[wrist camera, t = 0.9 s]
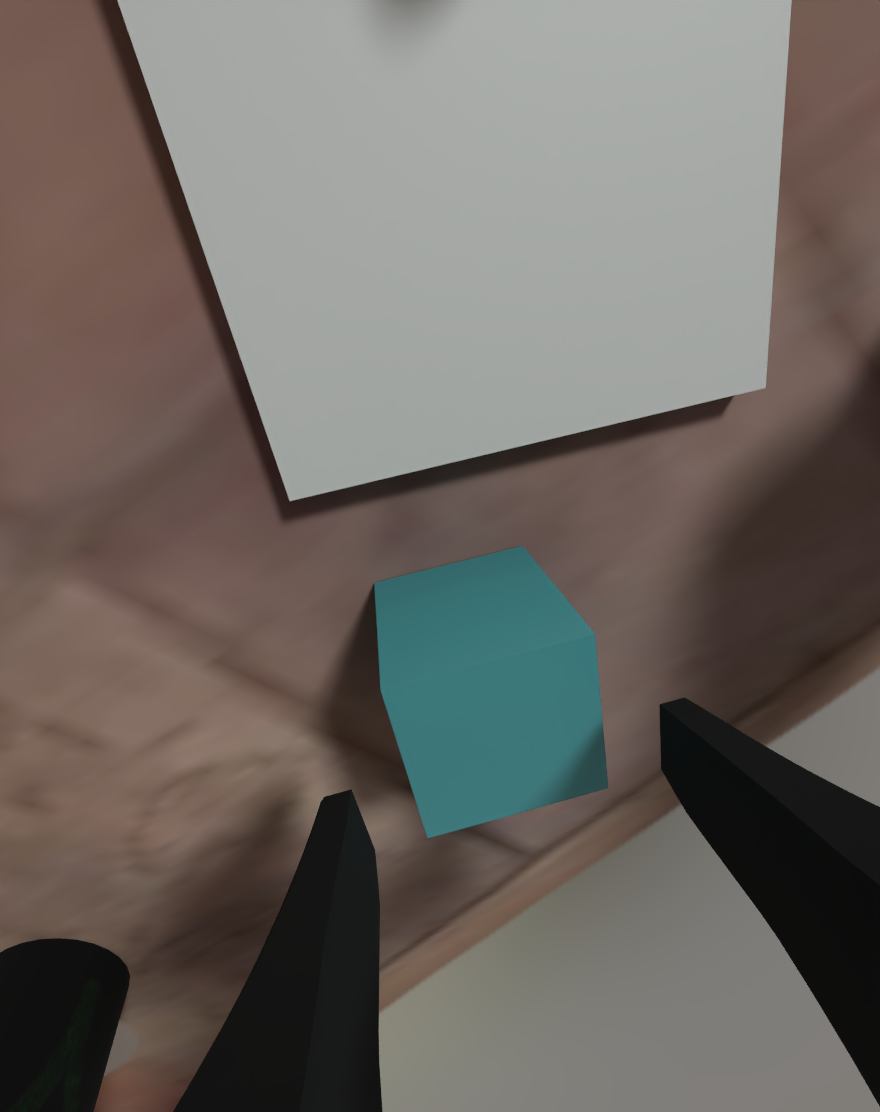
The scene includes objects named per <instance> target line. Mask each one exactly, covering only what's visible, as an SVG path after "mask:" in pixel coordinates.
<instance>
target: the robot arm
mask: <svg viewBox="0 0 880 1112" xmlns="http://www.w3.org/2000/svg"><path fill="white" fill-rule="evenodd" d="M660 737H661V769H662V771H663V773H664V775H665V776H666V778H667V780H668V782H669V784H670V785H671V787H672V789H673V791H674V792H675V794H676V796H677V797H678V799H679V801H680V802H681V804H682V806H683V807H684V809H685V811H686V812H687V814H688V815H689V817H690V818H691V819H692V820H693V822H694V824H695V825H696V826H697V828H698V829H699V830H700V832H701V833H702V835H703V836H704V837H705V839H706V840H707V841H708V843H709V844H710V845H711V847H712V848H713V850H714V851H715V852H716V854H717V855H718V856H719V857H720V859H721V860H722V862H723V863H724V864H725V866H726V867H727V868H728V870H729V871H730V872H731V874H732V875H733V876H734V878H735V879H736V881H737V882H738V883H739V884H740V886H741V887H742V889H743V890H744V891H745V893H746V894H747V895H748V897H749V898H750V899H751V901H752V902H753V903H754V905H755V906H756V907H757V909H758V910H759V911H760V913H761V914H762V915H763V917H764V919H765V920H766V921H767V923H768V924H769V926H770V927H771V929H772V930H773V932H774V933H775V934H776V936H777V937H778V939H779V940H780V942H781V944H782V945H783V947H784V948H785V950H786V952H787V953H788V955H789V956H790V958H791V960H792V961H793V963H794V964H795V966H796V967H797V969H798V971H799V972H800V974H801V975H802V977H803V978H804V980H805V982H806V983H807V985H808V987H809V988H810V989H811V991H812V993H813V995H814V996H815V998H816V1000H817V1001H818V1003H819V1005H820V1006H821V1008H822V1009H823V1011H824V1013H825V1014H826V1016H827V1018H828V1019H829V1021H830V1023H831V1024H832V1026H833V1028H834V1029H835V1031H836V1033H837V1034H838V1036H839V1038H840V1039H841V1041H842V1043H843V1044H844V1046H845V1048H846V1049H847V1051H848V1053H849V1054H850V1056H851V1058H852V1059H853V1061H854V1063H855V1064H856V1066H857V1068H858V1070H859V1071H860V1073H861V1075H862V1076H863V1078H864V1080H865V1082H866V1083H867V1085H868V1087H869V1089H870V1090H871V1092H872V1094H873V1096H874V1097H875V1099H876V1101H877V1103H878V1104H879V1106H880V807H879V806H876V805H874V804H872V803H870V802H868V801H866V800H864V799H862V798H859V797H858V796H856V795H854V794H852V793H850V792H848V791H846V790H844V789H842V788H840V787H838V786H836V785H834V784H832V783H831V782H828V781H827V780H825V779H823V778H821V777H819V776H817V775H815V774H813V773H812V772H810V771H808V770H806V769H804V768H803V767H801V766H799V765H797V764H795V763H793V762H792V761H790V760H788V759H786V758H785V757H783V756H781V755H779V754H778V753H776V752H774V751H772V750H771V749H769V748H767V747H766V746H764V745H762V744H760V743H759V742H757V741H755V740H754V739H752V738H750V737H749V736H747V735H745V734H744V733H742V732H740V731H739V730H737V729H735V728H734V727H732V726H731V725H729V724H727V723H726V722H724V721H722V720H721V719H719V718H717V717H716V716H714V715H713V714H711V713H709V712H708V711H706V710H704V709H703V708H701V707H700V706H698V705H696V704H695V703H693V702H691V701H690V700H688V699H686V698H681V699H678V700H674V701H670V702H667V703H663V704H660ZM379 930H380V901H379V888H378V877H377V866H376V856H375V849H374V846H373V844H372V841H371V839H370V836H369V834H368V831H367V828H366V826H365V823H364V821H363V818H362V816H361V813H360V810H359V808H358V805H357V803H356V800H355V797H354V795H353V792H352V790H348V791H344V792H341V793H337V794H333V795H330V796H326V797H324V798H323V800H322V801H321V803H320V806H319V809H318V812H317V815H316V818H315V821H314V824H313V827H312V830H311V833H310V836H309V838H308V841H307V844H306V846H305V849H304V852H303V854H302V857H301V860H300V862H299V865H298V867H297V870H296V872H295V875H294V877H293V880H292V882H291V885H290V887H289V889H288V892H287V894H286V897H285V899H284V902H283V904H282V906H281V909H280V911H279V913H278V916H277V918H276V920H275V922H274V924H273V926H272V929H271V931H270V933H269V935H268V937H267V940H266V942H265V944H264V946H263V948H262V950H261V953H260V955H259V957H258V959H257V961H256V963H255V965H254V967H253V969H252V971H251V973H250V975H249V977H248V979H247V981H246V983H245V985H244V987H243V989H242V991H241V993H240V995H239V997H238V999H237V1001H236V1003H235V1004H234V1006H233V1008H232V1010H231V1012H230V1014H229V1016H228V1018H227V1020H226V1021H225V1023H224V1025H223V1027H222V1029H221V1031H220V1032H219V1034H218V1036H217V1038H216V1039H215V1041H214V1043H213V1045H212V1046H211V1048H210V1050H209V1052H208V1053H207V1055H206V1057H205V1059H204V1060H203V1062H202V1064H201V1066H200V1067H199V1069H198V1071H197V1073H196V1074H195V1076H194V1078H193V1079H192V1081H191V1083H190V1084H189V1086H188V1088H187V1090H186V1091H185V1093H184V1095H183V1096H182V1098H181V1100H180V1101H179V1103H178V1104H177V1106H176V1108H175V1109H174V1111H173V1112H382V1099H381V1084H380V1068H379V1036H378V1035H379V1034H378V1028H379V1027H378V1026H379V1025H378V1023H379V1020H378V1019H379Z"/></svg>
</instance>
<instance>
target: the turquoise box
mask: <svg viewBox="0 0 880 1112" xmlns="http://www.w3.org/2000/svg"><path fill="white" fill-rule="evenodd" d="M374 585H375V603H376V620H377V637H378V655H379V672H380V689H381V693H382V696H383V699H384V703H385V706H386V709H387V712H388V715H389V718H390V722H391V725H392V728H393V731H394V734H395V737H396V740H397V744H398V747H399V750H400V753H401V756H402V759H403V763H404V766H405V769H406V772H407V775H408V778H409V781H410V785H411V788H412V791H413V794H414V797H415V800H416V804H417V807H418V810H419V813H420V816H421V819H422V822H423V826H424V829H425V832H426V835H427V838H432V837H435V836H439V835H442V834H446V833H449V832H453V831H457V830H460V829H464V828H467V827H471V826H474V825H478V824H482V823H485V822H489V821H492V820H496V819H499V818H503V817H506V816H510V815H514V814H517V813H521V812H524V811H528V810H531V809H535V808H539V807H542V806H546V805H549V804H553V803H556V802H560V801H564V800H567V799H571V798H574V797H578V796H581V795H585V794H589V793H592V792H596V791H599V790H603V789H606V788H608V780H607V768H606V757H605V745H604V733H603V722H602V710H601V699H600V687H599V675H598V664H597V652H596V641H595V633H594V632H593V631H592V630H591V629H590V627H589V626H588V625H587V624H586V622H585V621H584V620H583V619H582V618H581V616H580V615H579V614H578V613H577V612H576V610H575V609H574V608H573V607H572V605H571V604H570V603H569V602H568V601H567V599H566V598H565V597H564V596H563V594H562V593H561V592H560V591H559V590H558V588H557V587H556V586H555V585H554V583H553V582H552V581H551V580H550V579H549V577H548V576H547V575H546V574H545V573H544V571H543V570H542V569H541V568H540V566H539V565H538V564H537V563H536V562H535V560H534V559H533V558H532V557H531V555H530V554H529V553H528V552H527V551H526V549H525V548H524V547H523V546H520V547H516V548H512V549H508V550H504V551H500V552H496V553H492V554H488V555H484V556H480V557H476V558H472V559H468V560H464V561H460V562H456V563H452V564H448V565H444V566H440V567H436V568H432V569H428V570H424V571H420V572H416V573H412V574H408V575H404V576H400V577H396V578H392V579H388V580H384V581H380V582H376V583H374Z"/></svg>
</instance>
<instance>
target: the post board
mask: <svg viewBox="0 0 880 1112" xmlns="http://www.w3.org/2000/svg"><path fill="white" fill-rule="evenodd" d="M117 1H118V4H119V7H120V9H121V12H122V15H123V18H124V21H125V24H126V27H127V30H128V33H129V36H130V38H131V41H132V44H133V47H134V50H135V53H136V56H137V59H138V62H139V65H140V68H141V70H142V73H143V76H144V79H145V82H146V85H147V88H148V91H149V94H150V97H151V100H152V102H153V105H154V108H155V111H156V114H157V117H158V120H159V123H160V126H161V129H162V131H163V134H164V137H165V140H166V143H167V146H168V149H169V152H170V155H171V158H172V161H173V163H174V166H175V169H176V172H177V175H178V178H179V181H180V184H181V187H182V190H183V193H184V195H185V198H186V201H187V204H188V207H189V210H190V213H191V216H192V219H193V222H194V224H195V227H196V230H197V233H198V236H199V239H200V242H201V245H202V248H203V251H204V254H205V256H206V259H207V262H208V265H209V268H210V271H211V274H212V277H213V280H214V283H215V286H216V288H217V291H218V294H219V297H220V300H221V303H222V306H223V309H224V312H225V315H226V317H227V320H228V323H229V326H230V329H231V332H232V335H233V338H234V341H235V344H236V347H237V349H238V352H239V355H240V358H241V361H242V364H243V367H244V370H245V373H246V376H247V379H248V381H249V384H250V387H251V390H252V393H253V396H254V399H255V402H256V405H257V408H258V410H259V413H260V416H261V419H262V422H263V425H264V428H265V431H266V434H267V437H268V440H269V442H270V445H271V448H272V451H273V454H274V457H275V460H276V463H277V466H278V469H279V472H280V474H281V477H282V480H283V483H284V486H285V489H286V492H287V495H288V498H289V501H293V500H297V499H301V498H305V497H310V496H314V495H318V494H322V493H326V492H331V491H335V490H339V489H343V488H347V487H352V486H356V485H360V484H364V483H368V482H373V481H377V480H381V479H385V478H389V477H394V476H398V475H402V474H406V473H410V472H415V471H419V470H423V469H427V468H431V467H436V466H440V465H444V464H448V463H452V462H457V461H461V460H465V459H469V458H473V457H478V456H482V455H486V454H490V453H494V452H499V451H503V450H507V449H511V448H515V447H520V446H524V445H528V444H532V443H536V442H541V441H545V440H549V439H553V438H557V437H562V436H566V435H570V434H574V433H578V432H583V431H587V430H591V429H595V428H599V427H604V426H608V425H612V424H616V423H620V422H625V421H629V420H633V419H637V418H641V417H646V416H650V415H654V414H658V413H662V412H667V411H671V410H675V409H679V408H683V407H688V406H692V405H696V404H700V403H704V402H709V401H713V400H717V399H721V398H725V397H730V396H734V395H738V394H742V393H746V392H751V391H755V390H759V389H763V388H766V373H767V359H768V344H769V329H770V314H771V299H772V284H773V269H774V254H775V239H776V224H777V209H778V194H779V179H780V165H781V150H782V135H783V120H784V105H785V90H786V75H787V60H788V45H789V30H790V15H791V0H117Z"/></svg>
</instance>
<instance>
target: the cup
mask: <svg viewBox="0 0 880 1112" xmlns="http://www.w3.org/2000/svg"><path fill="white" fill-rule="evenodd" d="M129 979H130V975H129V972H128V969H127V966H126V965H125V964H124V963H123V962H122V960H121V959H120V958H119V957H117V956H116V955H115V954H113V953H112V952H110V951H109V950H107V949H104V948H102V947H99V946H97V945H95V944H91V943H87V942H82V941H78V940H68V939H45V940H36V941H31V942H26V943H22V944H19V945H16V946H14V947H11V948H8V949H6V950H4V951H3V952H1V953H0V1112H94V1108H95V1104H96V1101H97V1097H98V1094H99V1090H100V1087H101V1083H102V1079H103V1076H104V1072H105V1069H106V1065H107V1061H108V1057H109V1054H110V1051H111V1047H112V1044H113V1040H114V1036H115V1033H116V1029H117V1026H118V1022H119V1019H120V1015H121V1011H122V1008H123V1004H124V1001H125V997H126V994H127V990H128V986H129Z"/></svg>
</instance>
